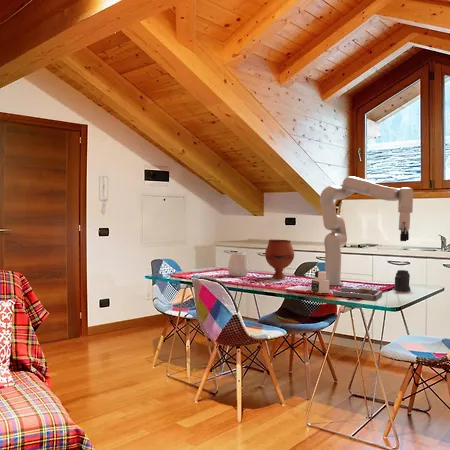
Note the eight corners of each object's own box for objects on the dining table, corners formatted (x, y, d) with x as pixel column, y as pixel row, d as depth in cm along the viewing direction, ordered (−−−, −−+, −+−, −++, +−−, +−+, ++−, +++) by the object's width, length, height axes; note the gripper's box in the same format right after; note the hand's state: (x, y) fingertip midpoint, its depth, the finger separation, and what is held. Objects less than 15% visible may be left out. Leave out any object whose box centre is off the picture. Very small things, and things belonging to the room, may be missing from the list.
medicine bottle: (311, 292, 275) (311, 270, 274) (321, 291, 278) (322, 270, 277) (318, 294, 268) (319, 272, 268) (329, 293, 271) (329, 271, 271)
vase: (249, 274, 342) (249, 252, 342) (248, 277, 328) (248, 254, 328) (229, 273, 344) (229, 251, 343) (226, 276, 330) (227, 253, 329)
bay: (333, 296, 263) (333, 291, 263) (341, 291, 278) (341, 287, 278) (375, 300, 253) (375, 295, 253) (382, 295, 267) (382, 291, 267)
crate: (358, 297, 263) (358, 288, 263) (360, 295, 267) (360, 287, 267) (370, 298, 260) (370, 289, 260) (372, 296, 264) (372, 288, 264)
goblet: (291, 280, 317) (292, 241, 316) (261, 278, 322) (262, 240, 321) (295, 276, 335) (296, 239, 334) (267, 275, 340) (267, 238, 339)
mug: (398, 288, 293) (399, 269, 292) (413, 290, 286) (414, 271, 286) (388, 290, 285) (388, 270, 284) (403, 292, 278) (404, 272, 278)
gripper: (400, 209, 287) (399, 239, 288) (396, 209, 272) (395, 241, 272) (414, 210, 284) (413, 240, 284) (410, 210, 268) (409, 241, 269)
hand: (404, 240), depth 278 cm, fingers open, 9 cm apart
